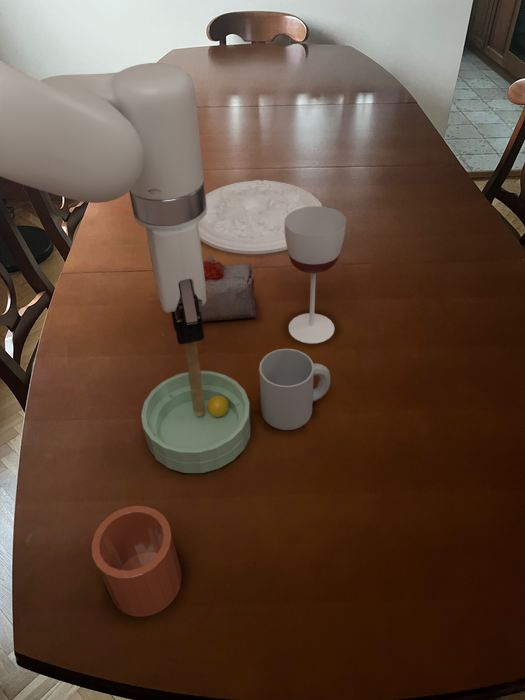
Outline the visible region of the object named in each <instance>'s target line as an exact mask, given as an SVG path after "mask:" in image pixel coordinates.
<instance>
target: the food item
mask: <svg viewBox="0 0 525 700" xmlns="http://www.w3.org/2000/svg"><path fill="white" fill-rule="evenodd" d="M203 266H204V276H205V286H206V303H205V304H204V305H203V306H202V305H201V304H200V305H199V310H200V312H201V317H202V323H205V322H215V321H232V320H240V319H254V318H255V319H256V318H257V314H258V313H257V305H256V303H257V301H256V298H255V286H254V285H255V279H254V277H253V270H252V264H251V263H250V262H249V263H231V264H222V263H221V262H220V261H216V260H215V259H214V257H213V256H212V255H210V256H209V257H207V259H206V260H204V261H203Z"/></svg>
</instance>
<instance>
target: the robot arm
mask: <svg viewBox="0 0 525 700" xmlns="http://www.w3.org/2000/svg"><path fill="white" fill-rule="evenodd" d="M198 118H199V117H198V108H197V99H196V90H195V84H194V82H193V79H192V76H191V75H190V74H189V73H188V72H187V71H186V69H183V68H182V67H180V66H178V65H175V64H172V63H165V62H148V63H147V62H146V63H141V64H136V65H132V66H129V67H126V68H124V69H122V70H120V71H118V72H109V73H108V72H107V73H106V72H105V73H88V74H85V73H84V74H60V75H59V74H58V75H54V76H53V75H52V76H49V77H45V78H43V79H41V80H39V79H37V78H35V77H33V76H31V75H29V74H27V73H25V72H23V71H21V70H19V69H17V68H16V67H14V66H13V65H10V64H8V63H6V62H4V61H3V60H1V59H0V177H1V178H3V179H6V180H8V181H11V182H14V183H17V184H20V185H23V186H26V187H29V188H32V189H36V190H39V191H41V192H46V193H49V194H52V195H56V196H59V197H62V198H64V199H65V198H66V199H69V200H72V201H76V202H80V203H81V202H82V203H91V204H101V203H108V202H111V201H115V200H118V199H119V198H122V197H123V196H125V195H126V194H128V193H129V198H130V202H131V209H132V212H133V218H134V220H135V221H136V223H137V224H139V225H140V226H141V227H143V228H145V234H146V240H147V246H148V252H149V257H150V262H151V267H152V272H153V278H154V282H155V286H156V290H157V294H158V297H159V302H160V305H161V307H162V310H163V311H164V312H165V313H167V314H170V313H171V319H172V324H173V329H174V332H175V334H176V340H177V343H178V345H184V344H186V343H191V342H196V341H197V342H200V341H203V340H204V339H205V332H204V325H203V322H202V317H201V312H200V310H199V305H200V304H201V305H202V306H203V305H204V304H205V303H206V286H205V276H204V266H203V262H204V259H203V249H202V241H201V240H200V234H199V227H198V222H199V221H200V220H201V219H202V218H203V217H204V216H205V214H206V212H207V204H206V194H207V193H206V185H205V184H206V183H205V178H204V168H203V158H202V150H201V149H202V148H201V138H200V130H199V129H200V127H199V119H198ZM182 305H183V309H180V308H179V306H182Z"/></svg>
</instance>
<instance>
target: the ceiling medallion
mask: <svg viewBox="0 0 525 700" xmlns="http://www.w3.org/2000/svg"><path fill="white" fill-rule="evenodd" d="M205 194H206V204H207V212H206V214H205V216H204V217H203V218H202V219H201V220H200V221H199V222H198V227H199V234H200V241H201V243H202V242H203V243H204V244H206V245H207V246H210V247H211V248H214V249H217V250H220V251H223V252H227V253H233V254H240V255H265V254H273V253H278V252H279V253H280V252H283V251H286V250H287V251H288V249H287V244H286V238H285V218H286V216H287V215H288V214H289V213H291V212H293V211H295V210H297V209H300V208H304V207H312V206H320V207H324V206H323V204H322V203H321V201H320V200H319V199H318V198H317V197H316V196H315V195H314V194H312V193H311V192H309V191H308V190H306V189H304V188H301V187H299V186H297V185H293V184H291V183H286V182H282V181H275V180H267V179H263V180H260V179H256V180H246V181H239V182H233V183H229V184H226V185H224V186H220V187H217V188H215V189H213V190H212V191H210V192H208V193H205Z"/></svg>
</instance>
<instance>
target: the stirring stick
mask: <svg viewBox="0 0 525 700" xmlns="http://www.w3.org/2000/svg"><path fill="white" fill-rule="evenodd" d="M179 308H180V309H183V305H182V306H179ZM183 346H184V353H185V360H186V368H187V372H188V376H189V383H190V390H191V398H192V405H193V412H194V414H195V415H196V416H202V415H203V414H204V413H205V406H204V398H203V389H202V381H201V372H200V371H201V364H200V356H199V355H200V354H199V347H198V341H196V342H191V343H186V344H183Z"/></svg>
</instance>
